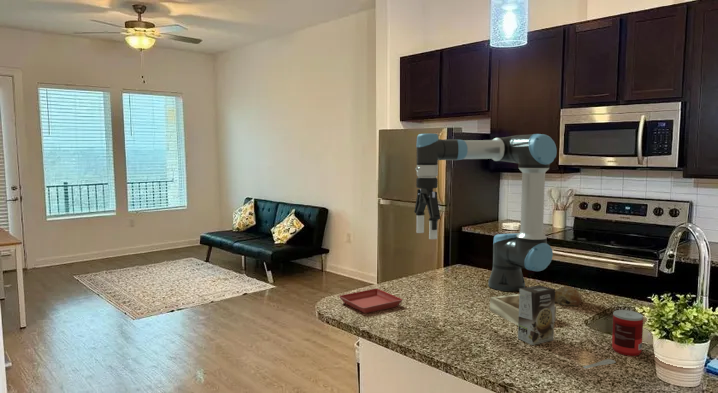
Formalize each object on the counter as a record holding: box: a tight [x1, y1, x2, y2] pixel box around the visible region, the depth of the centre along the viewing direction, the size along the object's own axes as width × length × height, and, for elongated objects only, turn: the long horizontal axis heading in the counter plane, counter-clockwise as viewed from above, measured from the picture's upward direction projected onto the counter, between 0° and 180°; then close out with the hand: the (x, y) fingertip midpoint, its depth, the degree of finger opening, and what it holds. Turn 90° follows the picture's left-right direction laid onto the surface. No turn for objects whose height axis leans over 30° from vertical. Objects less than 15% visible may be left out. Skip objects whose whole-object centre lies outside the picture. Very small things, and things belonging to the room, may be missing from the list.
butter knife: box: [582, 358, 616, 369], centre depth 132 cm, size 1×24×3 cm
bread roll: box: [555, 285, 582, 307], centre depth 190 cm, size 10×10×8 cm
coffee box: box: [517, 284, 556, 346], centre depth 151 cm, size 9×6×16 cm
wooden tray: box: [489, 293, 557, 326], centre depth 174 cm, size 15×17×5 cm
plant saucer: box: [338, 288, 404, 314], centre depth 187 cm, size 18×18×3 cm
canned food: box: [611, 309, 644, 357], centre depth 143 cm, size 8×8×11 cm
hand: (426, 235), depth 178 cm, fingers open, 13 cm apart
